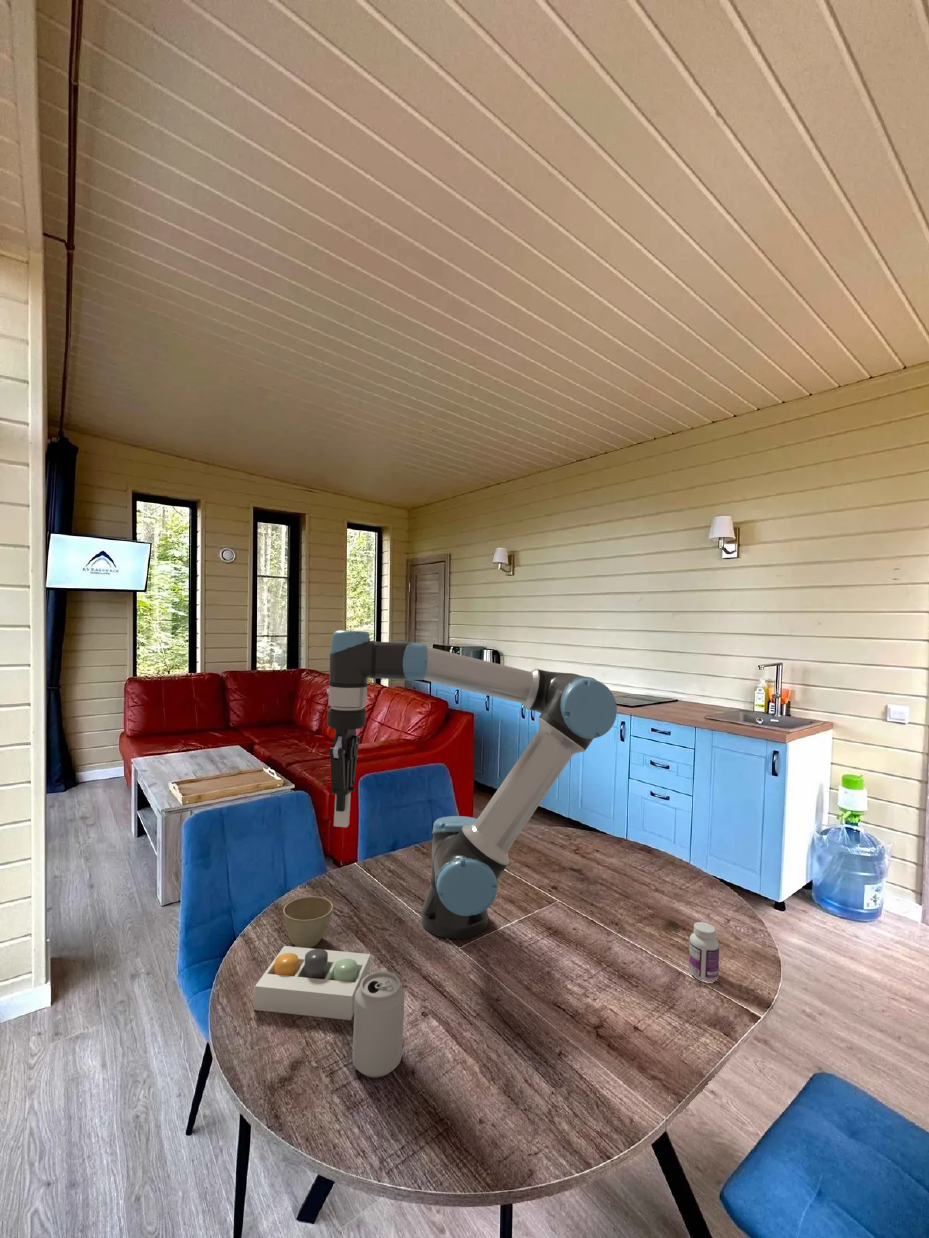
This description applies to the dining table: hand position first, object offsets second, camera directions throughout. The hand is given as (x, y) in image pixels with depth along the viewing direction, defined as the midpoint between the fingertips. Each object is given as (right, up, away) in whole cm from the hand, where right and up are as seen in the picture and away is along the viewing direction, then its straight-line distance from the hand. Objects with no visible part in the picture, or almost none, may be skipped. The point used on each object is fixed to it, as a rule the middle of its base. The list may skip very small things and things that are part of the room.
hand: (341, 825), depth 109 cm
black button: (-2, -24, -10) cm, 26 cm away
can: (+11, -27, -26) cm, 39 cm away
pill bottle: (+72, -30, -1) cm, 78 cm away
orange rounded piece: (-8, -25, -10) cm, 28 cm away
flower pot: (-8, -26, +5) cm, 28 cm away
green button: (+3, -25, -11) cm, 28 cm away
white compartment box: (-2, -26, -10) cm, 28 cm away
